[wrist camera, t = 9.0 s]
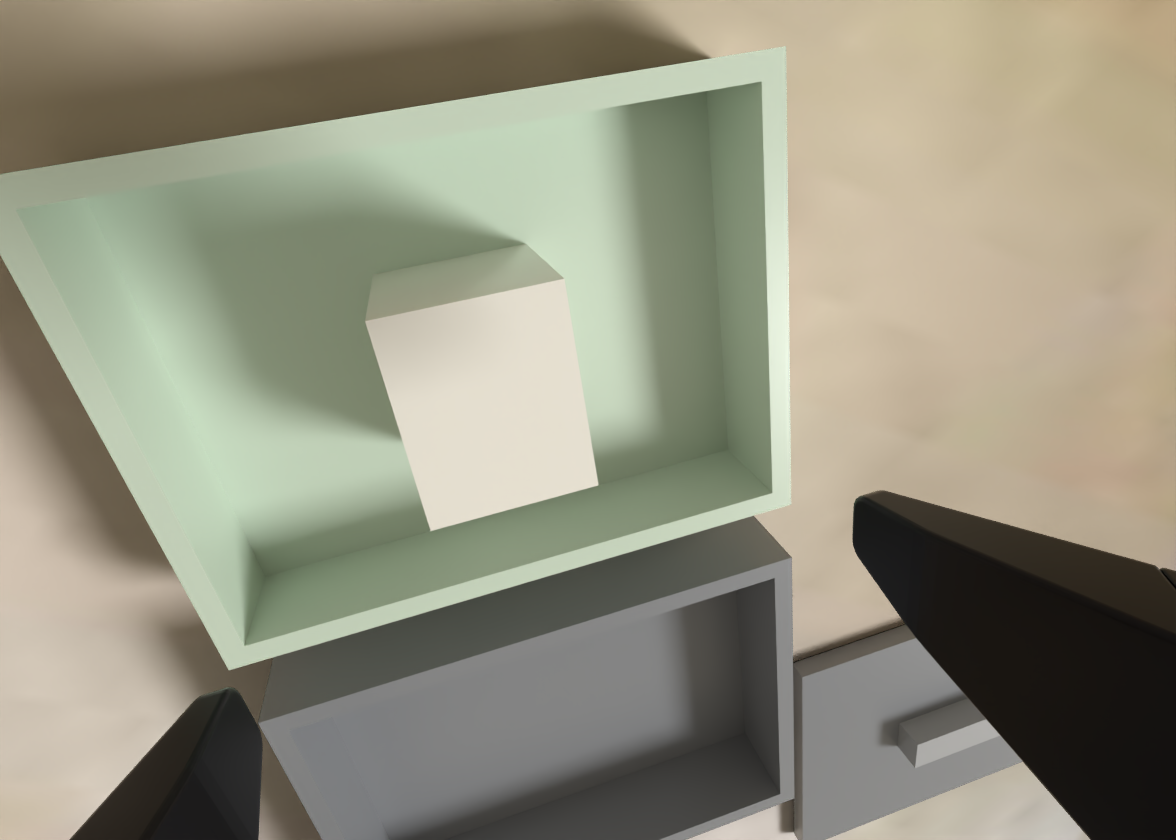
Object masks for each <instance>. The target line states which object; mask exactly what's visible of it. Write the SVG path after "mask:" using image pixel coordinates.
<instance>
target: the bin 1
mask: <svg viewBox="0 0 1176 840" xmlns="http://www.w3.org/2000/svg"><path fill="white" fill-rule="evenodd" d="M522 244H527V245H528V246H529V247H530V248H531V249H533V250H534V251H535V252H536V253H537V254H538V255H539V256H540V257H541V258H542V259H543V260H545V261H546V262H547V263H548V264H549V265H550V266H551V267H552V268H553V269H554V270H556V271H557V272H558V273H559V274H560V275H561V276H562V277H563V278H564V279H565V285H566V291H567V297H568V303H569V309H570V315H571V321H572V327H573V333H574V339H575V346H576V352H577V358H578V364H579V370H580V376H581V382H582V388H583V394H584V400H585V406H586V412H587V418H588V424H589V430H590V436H591V443H592V449H593V455H594V461H595V467H596V473H597V479H598V486H594V487H591V488H587V489H583V490H580V491H576V492H572V493H569V494H565V495H561V496H558V497H554V498H550V499H547V500H543V501H539V502H536V503H532V504H528V505H525V506H521V507H517V508H514V509H510V510H506V511H503V512H499V513H495V514H492V515H488V516H484V517H481V518H477V519H473V520H470V521H466V522H462V523H458V524H455V525H451V526H447V527H444V528H440V529H436V530H433V531H431V530H430V527H429V524H428V521H427V518H426V515H425V511H424V508H423V505H422V502H421V499H420V495H419V492H418V489H417V486H416V483H415V479H414V476H413V473H412V470H411V467H410V463H409V460H408V457H407V454H406V451H405V447H404V444H403V441H402V438H401V435H400V431H399V428H398V425H397V422H396V419H395V415H394V412H393V409H392V406H391V403H390V399H389V396H388V393H387V390H386V387H385V383H384V380H383V377H382V374H381V371H380V367H379V364H378V361H377V358H376V355H375V351H374V348H373V345H372V342H371V339H370V335H369V332H368V329H367V326H366V323H365V319H366V313H367V307H368V301H369V295H370V290H371V284H372V278H373V274H378V273H383V272H388V271H393V270H398V269H403V268H408V267H413V266H418V265H423V264H428V263H433V262H438V261H442V260H447V259H452V258H457V257H462V256H467V255H472V254H477V253H482V252H487V251H492V250H497V249H502V248H507V247H512V246H517V245H522ZM0 256H1V257H2V259H3V261H4V263H5V265H6V266H7V268H8V270H9V272H10V274H11V275H12V277H13V279H14V281H15V283H16V285H17V286H18V288H19V290H20V292H21V294H22V295H23V297H24V299H25V301H26V303H27V305H28V306H29V308H30V310H31V312H32V314H33V315H34V317H35V319H36V321H37V323H38V325H39V326H40V328H41V330H42V332H43V334H44V335H45V337H46V339H47V341H48V343H49V345H50V346H51V348H52V350H53V352H54V354H55V355H56V357H57V359H58V361H59V363H60V365H61V366H62V368H63V370H64V372H65V374H66V375H67V377H68V379H69V381H70V383H71V384H72V386H73V388H74V390H75V392H76V394H77V395H78V397H79V399H80V401H81V403H82V404H83V406H84V408H85V410H86V412H87V414H88V415H89V417H90V419H91V421H92V423H93V424H94V426H95V428H96V430H97V432H98V434H99V435H100V437H101V439H102V441H103V443H104V444H105V446H106V448H107V450H108V452H109V454H110V455H111V457H112V459H113V461H114V463H115V464H116V466H117V468H118V470H119V472H120V474H121V475H122V477H123V479H124V481H125V483H126V484H127V486H128V488H129V490H130V492H131V493H132V495H133V497H134V499H135V501H136V503H137V504H138V506H139V508H140V510H141V512H142V513H143V515H144V517H145V519H146V521H147V523H148V524H149V526H150V528H151V530H152V532H153V533H154V535H155V537H156V539H157V541H158V543H159V544H160V546H161V548H162V550H163V552H164V553H165V555H166V557H167V559H168V561H169V563H170V564H171V566H172V568H173V570H174V572H175V573H176V575H177V577H178V579H179V581H180V583H181V584H182V586H183V588H184V590H185V592H186V593H187V595H188V597H189V599H190V601H191V602H192V604H193V606H194V608H195V610H196V612H197V613H198V615H199V617H200V619H201V621H202V622H203V624H204V626H205V628H206V630H207V632H208V633H209V635H210V637H211V639H212V641H213V642H214V644H215V646H216V648H217V650H218V652H219V653H220V655H221V657H222V659H223V661H224V662H225V664H226V666H227V668H228V670H232V669H235V668H239V667H242V666H246V665H249V664H252V663H256V662H259V661H263V660H266V659H269V658H273V657H276V656H280V655H283V654H286V653H290V652H293V651H296V650H300V649H303V648H307V647H310V646H313V645H317V644H320V643H324V642H327V641H330V640H334V639H337V638H341V637H344V636H347V635H351V634H354V633H357V632H361V631H364V630H368V629H371V628H374V627H378V626H381V625H385V624H388V623H391V622H395V621H398V620H402V619H405V618H408V617H412V616H415V615H419V614H422V613H425V612H429V611H432V610H435V609H439V608H442V607H446V606H449V605H452V604H456V603H459V602H463V601H466V600H469V599H473V598H476V597H480V596H483V595H486V594H490V593H493V592H496V591H500V590H503V589H507V588H510V587H513V586H517V585H520V584H524V583H527V582H530V581H534V580H537V579H541V578H544V577H547V576H551V575H554V574H557V573H561V572H564V571H568V570H571V569H574V568H578V567H581V566H585V565H588V564H591V563H595V562H598V561H602V560H605V559H608V558H612V557H615V556H619V555H622V554H625V553H629V552H632V551H635V550H639V549H642V548H646V547H649V546H652V545H656V544H659V543H663V542H666V541H669V540H673V539H676V538H680V537H683V536H686V535H690V534H693V533H696V532H700V531H703V530H707V529H710V528H713V527H717V526H720V525H724V524H727V523H730V522H734V521H737V520H741V519H744V518H747V517H751V516H754V515H757V514H761V513H764V512H768V511H771V510H774V509H778V508H781V507H785V506H788V505H791V444H790V354H789V264H788V174H787V84H786V46H785V47H778V48H772V49H766V50H760V51H754V52H748V53H742V54H735V55H729V56H723V57H717V58H711V59H705V60H698V61H692V62H686V63H680V64H674V65H668V66H662V67H655V68H649V69H643V70H637V71H631V72H625V73H619V74H612V75H606V76H600V77H594V78H588V79H582V80H575V81H569V82H563V83H557V84H551V85H545V86H539V87H532V88H526V89H520V90H514V91H508V92H502V93H496V94H489V95H483V96H477V97H471V98H465V99H459V100H452V101H446V102H440V103H434V104H428V105H422V106H416V107H409V108H403V109H397V110H391V111H385V112H379V113H373V114H366V115H360V116H354V117H348V118H342V119H336V120H329V121H323V122H317V123H311V124H305V125H299V126H293V127H286V128H280V129H274V130H268V131H262V132H256V133H250V134H243V135H237V136H231V137H225V138H219V139H213V140H206V141H200V142H194V143H188V144H182V145H176V146H170V147H163V148H157V149H151V150H145V151H139V152H133V153H127V154H120V155H114V156H108V157H102V158H96V159H90V160H83V161H77V162H71V163H65V164H59V165H53V166H47V167H40V168H34V169H28V170H22V171H16V172H10V173H4V174H0Z"/></svg>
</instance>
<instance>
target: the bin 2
mask: <svg viewBox="0 0 1176 840" xmlns="http://www.w3.org/2000/svg"><path fill="white" fill-rule="evenodd" d="M258 724H259V726H260V728H261V730H262V731H263V733H264V735H265V737H266V739H267V741H268V742H269V744H270V746H271V748H272V750H273V751H274V753H275V755H276V757H277V759H278V761H279V762H280V764H281V766H282V768H283V770H284V771H285V773H286V775H287V777H288V779H289V781H290V782H291V784H292V786H293V788H294V790H295V791H296V793H297V795H298V797H299V799H300V801H301V802H302V804H303V806H304V808H305V810H306V811H307V813H308V815H309V817H310V819H311V820H312V822H313V824H314V826H315V828H316V830H317V831H318V833H319V835H320V837H321V839H322V840H686V839H689V838H692V837H694V836H697V835H700V834H702V833H705V832H707V831H710V830H713V829H715V828H718V827H721V826H723V825H726V824H729V823H731V822H734V821H736V820H739V819H742V818H744V817H747V816H750V815H752V814H755V813H757V812H760V811H763V810H765V809H768V808H771V807H773V806H776V805H778V804H781V803H784V802H786V801H789V800H792V799H794V714H793V624H792V557H791V556H790V555H789V554H788V553H787V552H786V551H785V550H784V549H783V547H782V546H781V545H780V544H779V543H778V542H777V541H776V540H775V539H774V538H773V536H772V535H771V534H770V533H769V532H768V531H767V530H766V529H765V528H764V527H763V526H762V524H761V523H760V522H759V521H758V520H757V519H756V518H755V517H754V516H751V517H747V518H744V519H741V520H737V521H734V522H730V523H727V524H724V525H720V526H717V527H713V528H710V529H707V530H703V531H700V532H696V533H693V534H690V535H686V536H683V537H680V538H676V539H673V540H669V541H666V542H663V543H659V544H656V545H652V546H649V547H646V548H642V549H639V550H635V551H632V552H629V553H625V554H622V555H619V556H615V557H612V558H608V559H605V560H602V561H598V562H595V563H591V564H588V565H585V566H581V567H578V568H574V569H571V570H568V571H564V572H561V573H557V574H554V575H551V576H547V577H544V578H541V579H537V580H534V581H530V582H527V583H524V584H520V585H517V586H513V587H510V588H507V589H503V590H500V591H496V592H493V593H490V594H486V595H483V596H480V597H476V598H473V599H469V600H466V601H463V602H459V603H456V604H452V605H449V606H446V607H442V608H439V609H435V610H432V611H429V612H425V613H422V614H419V615H415V616H412V617H408V618H405V619H402V620H398V621H395V622H391V623H388V624H385V625H381V626H378V627H374V628H371V629H368V630H364V631H361V632H357V633H354V634H351V635H347V636H344V637H341V638H337V639H334V640H330V641H327V642H324V643H320V644H317V645H313V646H310V647H307V648H303V649H300V650H296V651H293V652H290V653H286V654H283V655H280V656H276V657H273V661H272V666H271V670H270V674H269V678H268V683H267V687H266V691H265V695H264V700H263V704H262V708H261V712H260V717H259V721H258Z"/></svg>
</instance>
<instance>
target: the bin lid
mask: <svg viewBox="0 0 1176 840" xmlns="http://www.w3.org/2000/svg"><path fill="white" fill-rule="evenodd" d="M793 714H794V834H795V836H796V837H797V839H798V840H826V839H828V838H831V837H833V836H836V835H838V834H841V833H843V832H846V831H848V830H851V829H853V828H856V827H858V826H861V825H864V824H866V823H869V822H871V821H874V820H876V819H879V818H881V817H884V816H886V815H889V814H891V813H894V812H896V811H899V810H901V809H904V808H907V807H909V806H912V805H914V804H917V803H919V802H922V801H924V800H927V799H929V798H932V797H934V796H937V795H939V794H942V793H944V792H947V791H950V790H952V789H955V788H957V787H960V786H962V785H965V784H967V783H970V782H972V781H975V780H977V779H980V778H982V777H985V776H987V775H990V774H992V773H995V772H998V771H1000V770H1003V769H1005V768H1008V767H1010V766H1013V765H1015V764H1018V763H1020V762H1023V761H1022V760H1021V759H1020V758H1019V757H1018V755H1017V754H1016V753H1015V752H1014V751H1013V750H1012V749H1011V747H1010V746H1009V745H1008V744H1007V743H1006V742H1005V740H1004V739H1003V738H1002V737H1001V736H1000V735H999V734H998V732H997V731H996V730H995V729H994V728H993V727H992V725H991V724H990V723H989V722H988V721H987V720H986V719H985V717H984V716H983V715H982V714H981V713H980V712H979V711H978V709H977V708H976V707H975V706H974V705H973V704H972V702H971V701H970V700H969V699H968V698H967V697H966V696H965V694H964V693H963V692H962V691H961V690H960V689H959V687H958V686H957V685H956V684H955V683H954V682H953V681H952V679H951V678H950V677H949V676H948V675H947V674H946V672H945V671H944V670H943V669H942V668H941V667H940V666H939V664H938V663H937V662H936V661H935V660H934V659H933V658H932V656H931V655H930V654H929V653H928V652H927V651H926V649H925V648H924V647H923V646H922V645H921V643H920V642H919V641H918V640H917V639H916V637H915V636H914V635H913V633H912V632H911V631H910V629H909V628H908V627H907V625H903V626H900V627H897V628H894V629H892V630H889V631H886V632H883V633H880V634H877V635H874V636H871V637H868V638H865V639H862V640H859V641H856V642H853V643H850V644H848V645H845V646H842V647H839V648H836V649H833V650H830V651H827V652H824V653H821V654H818V655H815V656H812V657H809V658H806V659H804V660H801V661H798V662H795V663H793Z"/></svg>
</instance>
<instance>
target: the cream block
mask: <svg viewBox="0 0 1176 840" xmlns="http://www.w3.org/2000/svg"><path fill="white" fill-rule="evenodd" d="M365 323H366V326H367V329H368V332H369V335H370V339H371V342H372V345H373V348H374V351H375V355H376V358H377V361H378V364H379V367H380V371H381V374H382V377H383V380H384V383H385V387H386V390H387V393H388V396H389V399H390V403H391V406H392V409H393V412H394V415H395V419H396V422H397V425H398V428H399V431H400V435H401V438H402V441H403V444H404V447H405V451H406V454H407V457H408V460H409V463H410V467H411V470H412V473H413V476H414V479H415V483H416V486H417V489H418V492H419V495H420V499H421V502H422V505H423V508H424V511H425V515H426V518H427V521H428V524H429V527H430V530H431V531H433V530H436V529H440V528H444V527H447V526H451V525H455V524H458V523H462V522H466V521H470V520H473V519H477V518H481V517H484V516H488V515H492V514H495V513H499V512H503V511H506V510H510V509H514V508H517V507H521V506H525V505H528V504H532V503H536V502H539V501H543V500H547V499H550V498H554V497H558V496H561V495H565V494H569V493H572V492H576V491H580V490H583V489H587V488H591V487H594V486H598V479H597V473H596V467H595V461H594V455H593V449H592V443H591V436H590V430H589V424H588V418H587V412H586V406H585V400H584V394H583V388H582V382H581V376H580V370H579V364H578V358H577V352H576V346H575V339H574V333H573V327H572V321H571V315H570V309H569V303H568V297H567V291H566V285H565V279H564V278H563V277H562V276H561V275H560V274H559V273H558V272H557V271H556V270H554V269H553V268H552V267H551V266H550V265H549V264H548V263H547V262H546V261H545V260H543V259H542V258H541V257H540V256H539V255H538V254H537V253H536V252H535V251H534V250H533V249H531V248H530V247H529V246H528V245H527V244H522V245H517V246H512V247H507V248H502V249H497V250H492V251H487V252H482V253H477V254H472V255H467V256H462V257H457V258H452V259H447V260H442V261H438V262H433V263H428V264H423V265H418V266H413V267H408V268H403V269H398V270H393V271H388V272H383V273H378V274H373V278H372V284H371V290H370V295H369V301H368V307H367V313H366V319H365Z"/></svg>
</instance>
